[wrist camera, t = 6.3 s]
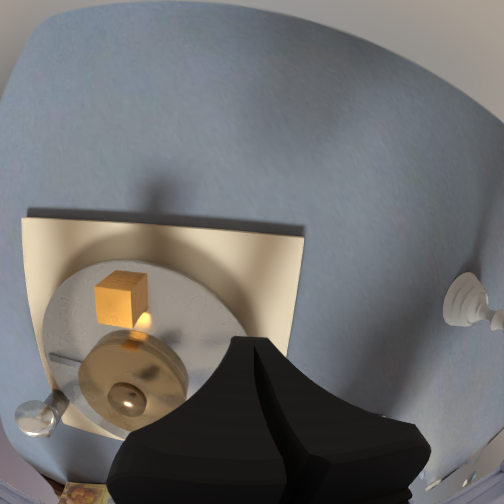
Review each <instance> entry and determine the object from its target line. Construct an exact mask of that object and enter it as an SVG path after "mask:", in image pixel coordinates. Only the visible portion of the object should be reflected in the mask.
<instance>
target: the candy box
mask: <svg viewBox="0 0 504 504" xmlns="http://www.w3.org/2000/svg"><path fill="white" fill-rule="evenodd" d="M58 504H115V503H114V501H113V499H112V498H111V496H110V494H109V492H108V490H107V487H106V484H84V483H74V482H67V483H66V486H65V488H64V491H63V493H62V496H61V498H60V501H59V503H58Z"/></svg>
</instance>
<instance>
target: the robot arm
mask: <svg viewBox="0 0 504 504" xmlns="http://www.w3.org/2000/svg"><path fill="white" fill-rule="evenodd" d="M430 454H431V447H430V445H429V444H428V442H427V441H426V439H425V438H424V436H423V435H422V434H421V432H420V431H419V429H418V428H417V427H416V425H415V424H411V423H406V422H402V421H398V420H394V419H390V418H387V417H386V416H379V415H377V414H374V413H371V412H368V411H365V410H363V409H361V408H358V407H356V406H354V405H352V404H350V403H348V402H346V401H344V400H342V399H340V398H338V397H336V396H334V395H333V394H331V393H329V392H328V391H326V390H325V389H323V388H322V387H320V386H319V385H317V384H316V383H314V382H313V381H312V380H310V379H309V378H308V377H307V376H305V375H304V374H303V373H302V372H301V371H300V370H298V369H297V368H296V367H295V366H294V365H293V364H292V363H291V362H290V361H289V360H288V359H287V358H286V357H285V356H284V355H283V354H282V353H281V352H280V351H279V350H278V348H277V347H276V346H275V345H274V344H273V343H272V342H271V341H270V340H269V338H268V337H247V336H233V337H232V338H231V341H230V345H229V347H228V350H227V352H226V354H225V355H224V357H223V359H222V361H221V362H220V364H219V365H218V367H217V368H216V370H215V371H214V372H213V374H212V375H211V376H210V378H209V379H208V380H207V381H206V382H205V383H204V384H203V385H202V387H201V388H200V389H199V390H198V391H197V392H196V393H194V394H193V395H192V396H191V397H190V398H189V399H188V400H186V401H185V402H184V403H183V404H181V405H180V406H179V407H177V408H176V409H174V410H173V411H171V412H170V413H168V414H167V415H165V416H164V417H162V418H160V419H159V420H157V421H155V422H153V423H151V424H149V425H146V426H144V427H142V428H140V429H137V430H135V431H132V432H130V433H129V434H128V436H127V437H126V439H125V440H124V442H123V443H122V445H121V447H120V449H119V450H118V452H117V454H116V456H115V458H114V460H113V463H112V466H111V469H110V472H109V475H108V478H107V481H106V487H107V490H108V492H109V494H110V496H111V498H112V499H113V501H114V503H115V504H416V503H415V501H414V500H413V499H412V493H411V491H410V487H411V483H412V482H413V481H414V479H415V478H416V477H417V476H418V475H419V473H420V472H421V471H422V470H423V468H424V467H425V465H426V464H427V462H428V460H429V458H430ZM0 504H45V503H42V502H41V501H39V500H37V499H34V498H33V497H31V496H29V495H27V494H25V493H23V492H21V491H19V490H18V489H16V488H14V487H13V486H11V485H9V484H7V483H6V482H4V481H3V480H1V479H0ZM435 504H504V460H503V462H502V463H501V464H500V466H499V467H498V468H496V469H495V470H493V471H492V472H490V473H489V474H487V475H486V476H484V477H483V478H481V479H479V480H478V481H476V482H475V483H473V484H471V485H470V486H468V487H466V488H464V489H462V490H461V491H459V492H457V493H455V494H453V495H451V496H449V497H448V498H446V499H444V500H441V501H440V502H437V503H435Z"/></svg>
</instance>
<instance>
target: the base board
mask: <svg viewBox="0 0 504 504" xmlns="http://www.w3.org/2000/svg"><path fill="white" fill-rule="evenodd" d="M22 243H23V258H24V269H25V278H26V286H27V293H28V299H29V306H30V311H31V317H32V322H33V327H34V331H35V336H36V340H37V344H38V348H39V352H40V356H41V360H42V363H43V367H44V370H45V373H46V377H47V380H48V383H49V386H50V389H51V392H52V391H53V390H54V389H57V390H60V391H62V390H61V389H60V387H59V386H58V384H57V382H56V381H55V379H54V377H53V375H52V373H51V371H50V368H49V366H48V363H47V360H46V357H45V353H44V348H43V340H42V326H43V319H44V314H45V310H46V308H47V305H48V303H49V301H50V299H51V297H52V295H53V294H54V292H55V291H56V289H57V288H58V287H59V286H60V285H61V284H62V283H63V282H64V281H65V280H67V279H68V278H69V277H71V276H72V275H74V274H75V273H77V272H78V271H80V270H82V269H83V268H85V267H88V266H90V265H92V264H94V263H97V262H101V261H104V260H108V259H116V258H139V259H146V260H152V261H156V262H159V263H163V264H166V265H169V266H172V267H174V268H176V269H179V270H181V271H183V272H186V273H187V274H189V275H191V276H193V277H194V278H196V279H198V280H200V281H201V282H203V283H204V284H205V285H207V286H208V287H209V288H211V289H212V290H213V291H215V292H216V293H217V294H218V295H219V296H220V297H221V298H222V299H223V300H224V301H225V302H226V303H227V304H228V305H229V306H230V308H231V309H232V310H233V311H234V312H235V314H236V315H237V316H238V318H239V319H240V321H241V323H242V324H243V326H244V327H245V329H246V332H247V334H248V336H249V337H268V338H269V340H270V341H271V342H272V343H273V344H274V345H275V346H276V347H277V348H278V350H279V351H280V352H281V353H282V354H283V355H284V356H285V357H286V353H287V348H288V342H289V336H290V331H291V325H292V319H293V313H294V306H295V300H296V294H297V287H298V280H299V274H300V267H301V259H302V252H303V245H304V238H303V237H302V236H292V235H281V234H270V233H259V232H248V231H236V230H224V229H212V228H200V227H187V226H173V225H160V224H145V223H130V222H115V221H98V220H81V219H62V218H41V217H23V218H22ZM61 418H62V421H63V423H64V424H66V425H69V426H72V427H75V428H78V429H82V430H85V431H88V432H92V433H95V434H99V435H102V436H106V437H110V438H114V439H118V440H123V441H124V440H125V439H122V438H120V437H117V436H115V435H113V434H111V433H109V432H108V431H106V430H104V429H102V428H101V427H99V426H98V425H96V424H95V423H93V422H92V421H91V420H89V419H88V418H87V417H86V416H84V415H83V414H82V413H81V412H80V411H79V410H78V409H77V408H76V407H75V406H74V405H73V404H72V403H71V402H70V405H69V406H68V408H67V409H66V411H65V413H64V414H63V416H62V417H61Z"/></svg>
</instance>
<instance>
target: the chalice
mask: <svg viewBox="0 0 504 504" xmlns="http://www.w3.org/2000/svg"><path fill="white" fill-rule="evenodd" d="M487 305H488V297H487V293H486V290H485V288H484V287H483V286H482V284H481V283H480V282H479V281H478V279H477V277H476V276H475V275H474V274H473V273H470V272H467V273H463V274H461V275H460V276H458V277H457V278H456V279H455V280H454V281H453V283H452V284H451V286H450V288H449V289H448V291H447V294H446V296H445V299H444V304H443V317H444V320H445V322H446V323H447V324H448V325H452V326H456V325H457V326H467V327H468V326H471V325H474V324H476V323H477V322H479V321H480V320H481V319H484V320H487V321H488V322H489V324H490V325H491V330H492V331H495V330H497V329H499V330H503V332H504V314H503V310H501V309H500V310H498V311H493V310H490V309H489V308H488V307H487Z"/></svg>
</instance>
